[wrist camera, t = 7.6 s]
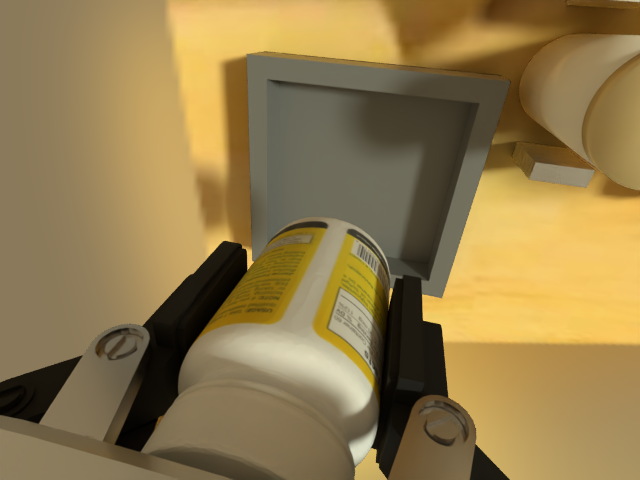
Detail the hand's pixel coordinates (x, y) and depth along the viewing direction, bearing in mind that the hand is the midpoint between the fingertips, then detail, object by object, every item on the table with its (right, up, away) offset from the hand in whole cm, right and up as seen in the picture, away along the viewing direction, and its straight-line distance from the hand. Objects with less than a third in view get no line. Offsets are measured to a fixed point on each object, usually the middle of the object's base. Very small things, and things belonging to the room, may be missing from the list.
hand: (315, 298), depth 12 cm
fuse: (+12, +9, +5) cm, 16 cm away
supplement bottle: (0, +1, +2) cm, 2 cm away
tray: (+3, +6, +10) cm, 12 cm away
